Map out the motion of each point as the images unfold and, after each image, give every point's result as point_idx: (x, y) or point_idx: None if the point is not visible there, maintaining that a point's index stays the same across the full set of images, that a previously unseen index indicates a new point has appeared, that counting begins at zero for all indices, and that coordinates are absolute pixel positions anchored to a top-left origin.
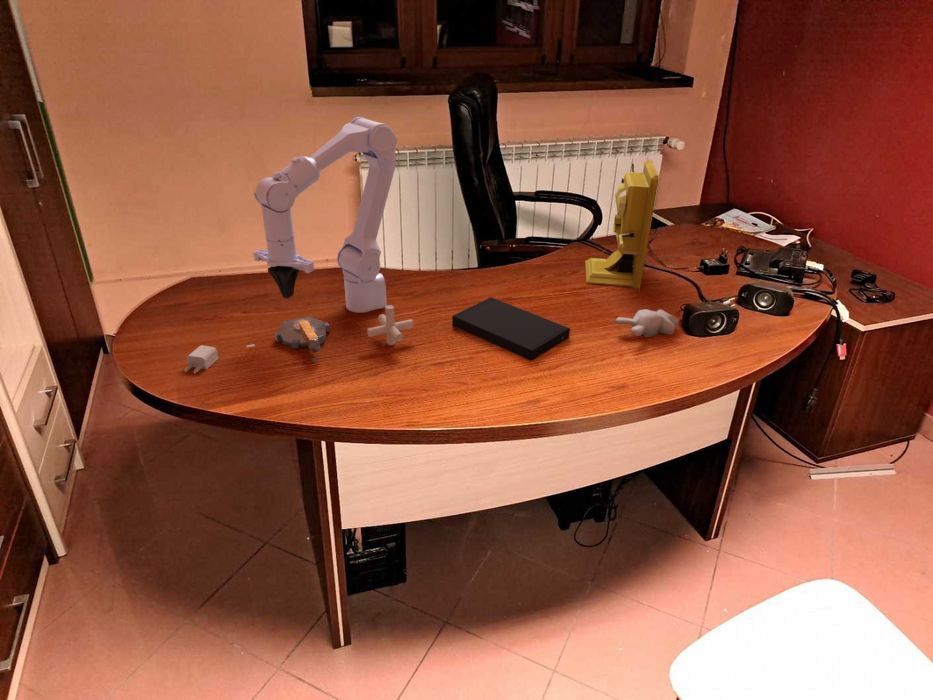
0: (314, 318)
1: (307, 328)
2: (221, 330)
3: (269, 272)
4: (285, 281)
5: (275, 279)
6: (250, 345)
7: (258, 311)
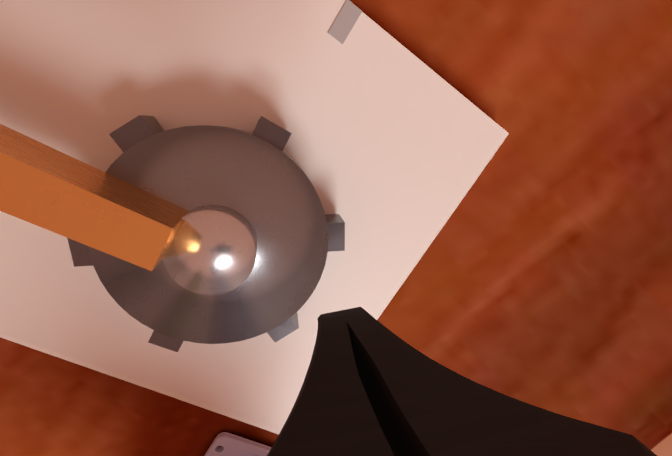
0: (248, 338)
1: (45, 201)
2: (563, 86)
3: (598, 440)
4: (281, 436)
5: (455, 389)
6: (346, 21)
7: (537, 272)
